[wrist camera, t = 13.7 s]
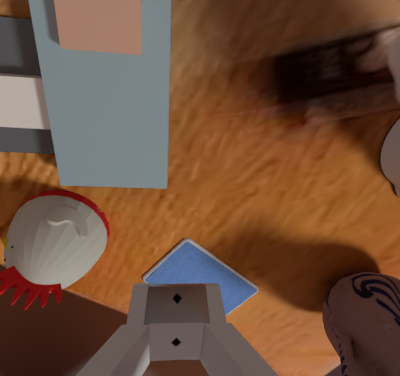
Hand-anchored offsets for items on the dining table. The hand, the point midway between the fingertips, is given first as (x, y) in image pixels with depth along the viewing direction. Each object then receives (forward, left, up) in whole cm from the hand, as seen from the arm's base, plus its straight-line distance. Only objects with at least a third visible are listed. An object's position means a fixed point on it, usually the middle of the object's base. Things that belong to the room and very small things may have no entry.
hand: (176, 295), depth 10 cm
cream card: (+20, 0, -31) cm, 36 cm away
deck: (+8, -1, -31) cm, 32 cm away
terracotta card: (+8, -9, -27) cm, 30 cm away
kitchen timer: (+17, +20, -31) cm, 41 cm away
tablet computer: (-6, +32, -32) cm, 46 cm away
